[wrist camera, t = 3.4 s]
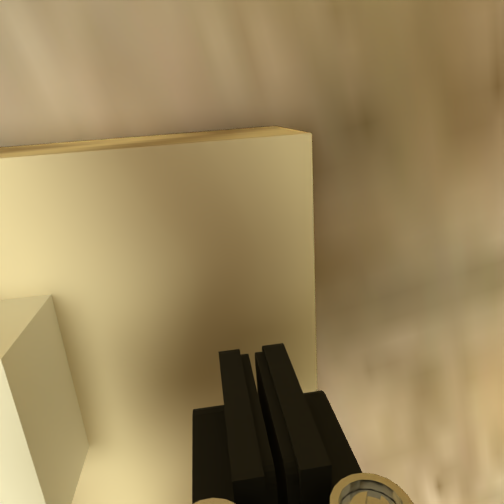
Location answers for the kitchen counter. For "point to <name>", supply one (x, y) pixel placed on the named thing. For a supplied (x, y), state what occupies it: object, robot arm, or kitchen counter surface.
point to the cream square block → (37, 407)
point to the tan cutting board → (161, 282)
